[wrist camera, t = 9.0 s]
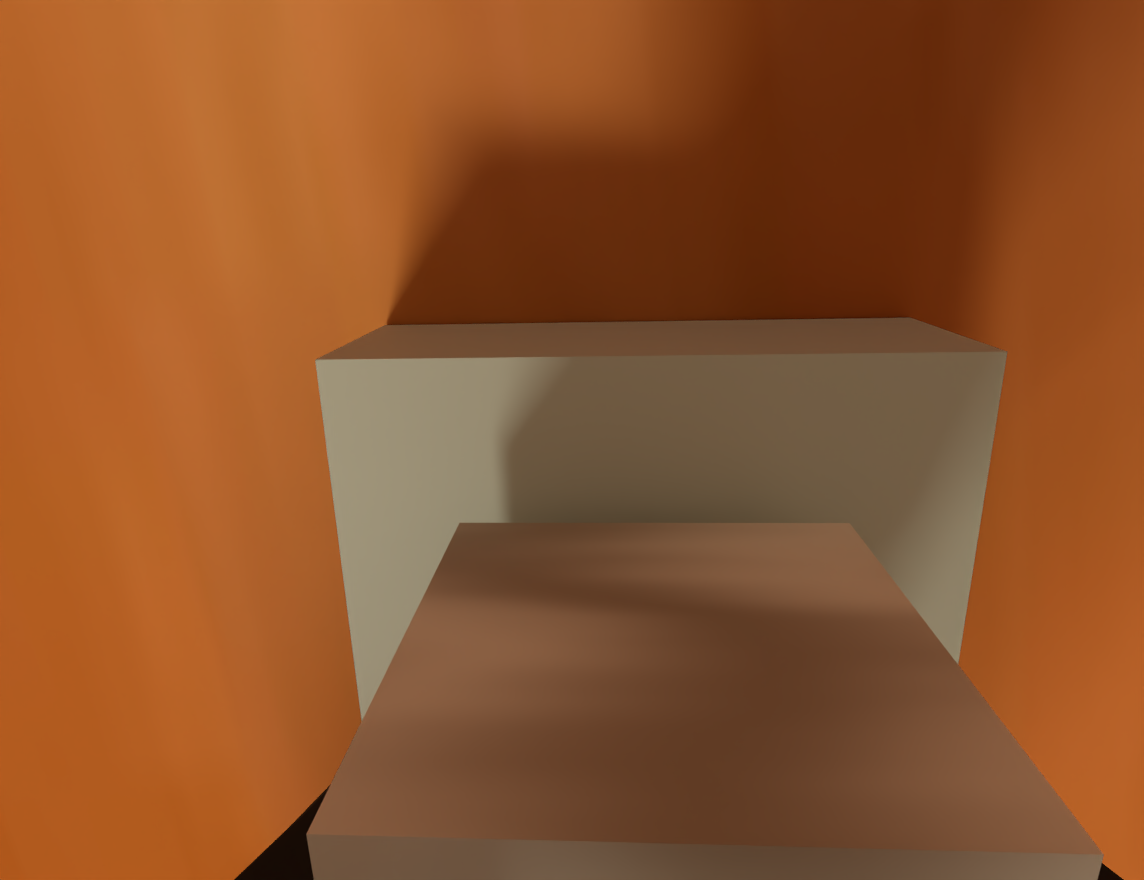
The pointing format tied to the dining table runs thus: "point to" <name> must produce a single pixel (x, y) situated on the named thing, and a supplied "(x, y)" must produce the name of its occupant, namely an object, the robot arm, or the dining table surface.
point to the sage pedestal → (655, 444)
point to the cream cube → (682, 722)
